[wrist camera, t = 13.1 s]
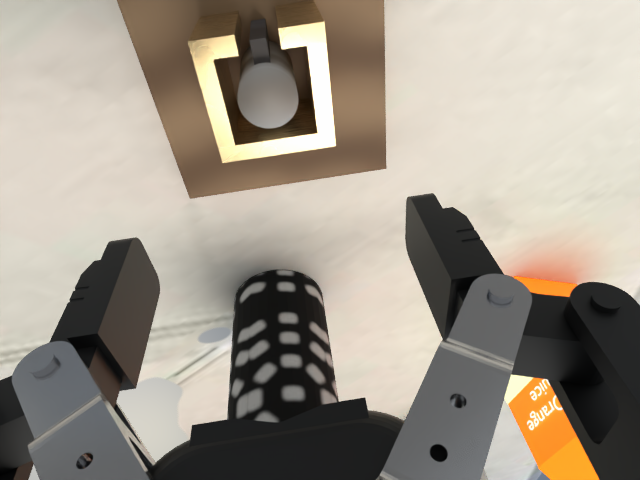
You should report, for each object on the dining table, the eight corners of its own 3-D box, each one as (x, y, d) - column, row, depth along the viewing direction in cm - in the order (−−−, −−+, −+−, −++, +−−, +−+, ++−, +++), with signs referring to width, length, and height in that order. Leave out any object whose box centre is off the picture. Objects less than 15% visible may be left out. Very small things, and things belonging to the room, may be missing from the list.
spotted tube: (330, 272, 39) (376, 522, 23) (314, 331, 44) (343, 569, 28) (238, 266, 37) (222, 531, 22) (231, 328, 42) (215, 579, 27)
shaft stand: (380, 155, 32) (404, 208, 26) (193, 183, 32) (179, 243, 26) (373, -127, 22) (411, -133, 16) (98, -87, 21) (43, -80, 16)
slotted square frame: (325, 109, 27) (336, 146, 23) (228, 124, 27) (222, 163, 23) (313, -1, 23) (324, 21, 19) (199, 16, 23) (187, 41, 19)
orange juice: (578, 283, 44) (751, 497, 28) (530, 338, 49) (655, 543, 34) (513, 275, 42) (660, 498, 26) (471, 332, 47) (574, 547, 32)
